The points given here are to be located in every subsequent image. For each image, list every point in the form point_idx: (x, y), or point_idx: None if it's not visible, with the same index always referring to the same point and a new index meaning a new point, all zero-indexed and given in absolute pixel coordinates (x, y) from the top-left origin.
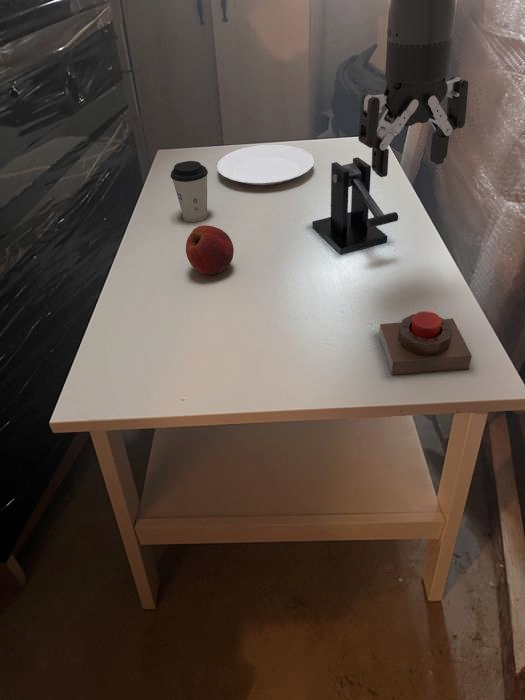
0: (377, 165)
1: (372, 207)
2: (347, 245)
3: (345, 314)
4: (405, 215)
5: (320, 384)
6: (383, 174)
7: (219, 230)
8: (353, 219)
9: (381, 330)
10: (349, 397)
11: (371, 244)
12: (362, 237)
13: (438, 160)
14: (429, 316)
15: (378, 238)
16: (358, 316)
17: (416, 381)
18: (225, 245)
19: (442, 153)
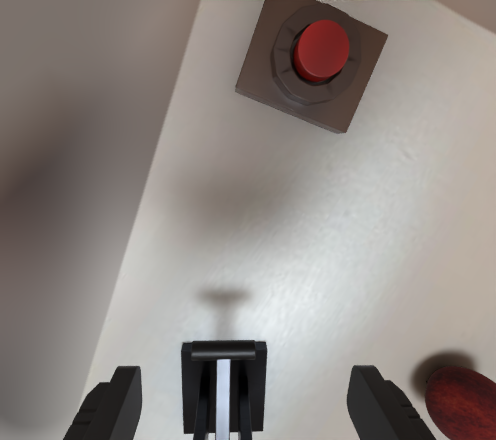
0: (413, 407)
1: (229, 386)
2: None
3: (346, 205)
4: None
5: (467, 78)
6: (374, 369)
7: (472, 433)
8: (209, 408)
9: (351, 119)
10: (453, 31)
11: None
12: None
13: (135, 377)
14: (314, 54)
15: None
16: (332, 192)
17: (354, 11)
18: (463, 399)
19: (114, 396)
